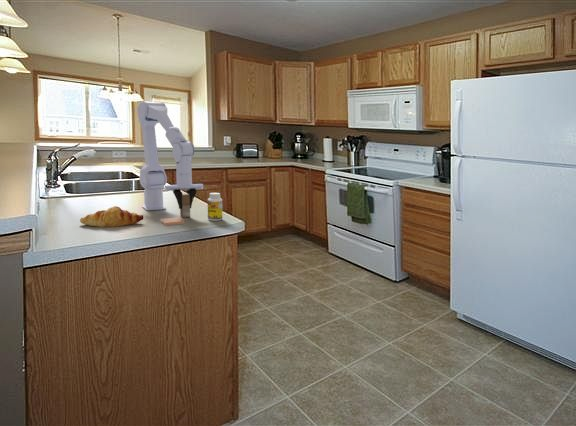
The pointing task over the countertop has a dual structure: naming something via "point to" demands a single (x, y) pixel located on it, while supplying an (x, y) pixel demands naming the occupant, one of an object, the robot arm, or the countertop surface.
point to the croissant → (111, 218)
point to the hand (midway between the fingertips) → (185, 208)
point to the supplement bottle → (215, 207)
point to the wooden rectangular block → (185, 206)
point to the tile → (172, 221)
